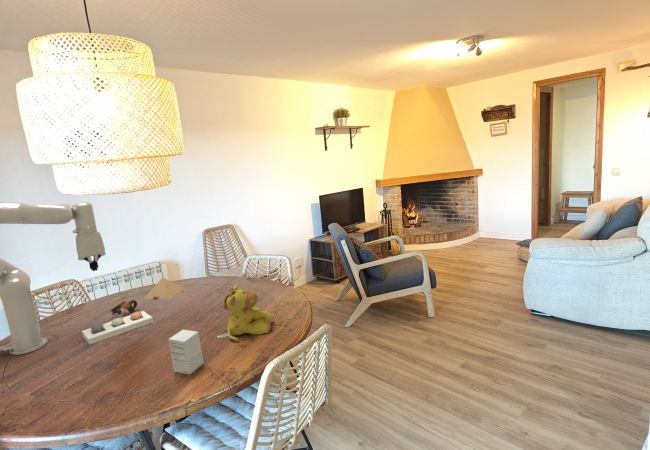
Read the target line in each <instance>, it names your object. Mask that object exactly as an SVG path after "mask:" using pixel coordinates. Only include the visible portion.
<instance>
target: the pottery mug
mask: <svg viewBox="0 0 650 450" xmlns="http://www.w3.org/2000/svg"><path fill="white" fill-rule="evenodd" d="M132 304H133V305H132ZM137 306H138V301H137V300H135V299H132V300H130V301H128V302H126V301H125V300H122V302H120V303H119V304H117V305H116V306H114V307H113V308H112V309H111V310H110V311H111V314H112V315H116V314H118V315H120V314H121V313H122V309H124V310H126V311H128V312H127V313H126V314H125V317H126V316H129V315H131V314H132V313H134V312H136V311H135V310H136V308H137ZM121 308H122V309H121Z"/></svg>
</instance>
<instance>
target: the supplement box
mask: <svg viewBox="0 0 650 450" xmlns="http://www.w3.org/2000/svg"><path fill="white" fill-rule="evenodd" d="M168 345H169V350H170V357H171V362H172V368H173V371H174V372H175V373H178V374H185V375H188V376H189V375H192V374H193V373H194V372H195V371H196V370H197V369H199V368H200V367H202V365H203V364H204V357H203V353H202V345H201V340H200V333H199V331H195V330H187V329H181V330H180V331H179V332H177V333H176V334H174V335H173V336H171V337H169V338H168Z"/></svg>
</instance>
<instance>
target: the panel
mask: <svg viewBox="0 0 650 450" xmlns="http://www.w3.org/2000/svg"><path fill="white" fill-rule="evenodd" d="M140 312H141V313H142V317H141V319H138V320H135V321H133V319H131V315H129V316H126V315H125V316H123V317H122V318H123V321H124V322H123V323H122V325H120V326H117V327H114V326H113V325H112V322H111V321H108V322H106V323H102V324H103V326H104V329H103V330H102V332H99V333H96V334H94V333H93V332H92V330H91V327H90V328H87V329H84V330H81V333H82V337H83V338H84V340H85V342H86V343H87V344H88V345H90V346H91V345H93V344H96V343H98V342H102V341H104V340H106V339H109V338H113V337H115V336H119V335H121V334H123V333H124V334H125V333H126V332H130V331H133V330H136V329H138V328H142V327H145V326H147V325H150V324H153V323H154V319H153V317H152V315H150V314H148V313H147V312H146V311H144V310H141V311H140Z"/></svg>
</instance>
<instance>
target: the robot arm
mask: <svg viewBox="0 0 650 450" xmlns="http://www.w3.org/2000/svg"><path fill="white" fill-rule="evenodd" d="M72 220H74V224H75V229H74V230H72V233H73V234H76V235H75V247H76V253H77V260H79V261H85V262H88V264H89V269H90V270H91V271H93V272H95V271H98V269H99V260H100V258H101V257H104V256H106V254H107V253H106V248H105V245H104V241H103V238H102V235H101V232H100V231H98V229H97V223H96V218H95V213H94V208H93V204H92V203H91V202H77V203H74V204H70V203H69V204H57V205H35V204H28V203H23V202H0V225H1V224H3V225H65V224H68V223H70V222H71V221H72ZM92 257H93V260H92ZM31 283H32V282H31V278H30V276H29V275H28V273H26V272H25V271H23V270H21V269H20V268H18V267H17V266H14V265H13V264H11V263H10V262H7V261H6V260H4V259H3V258H0V301H1V302H2V307H3V310H4V313H5V317H6V321H7V325H8V330H9V333H10V338H11V339H10V342H8V344H4V345H0V352H2V351H3V352H6V351H7V352H8V351H9V353H10V354H11V355H14V356H17V355H18V356H19V355H23V354H24V355H26V354H29V353H31V352H34V351H36V350H39V349H41V348H43V347H44V346H46V345H47V344H48V341H49V340H48V338H46V337H43V336H42V331H41V329H40V328H41V327H40V323H39V319H38V314H37V310H36V306H35V302H34V299H33V293H32V290H31Z"/></svg>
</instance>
